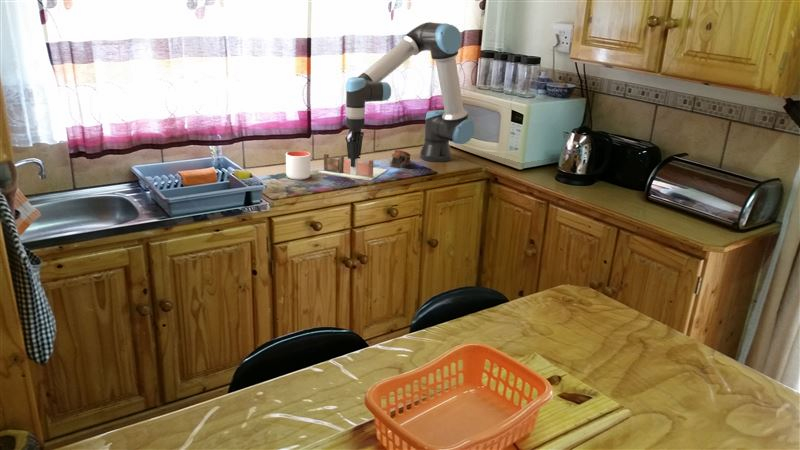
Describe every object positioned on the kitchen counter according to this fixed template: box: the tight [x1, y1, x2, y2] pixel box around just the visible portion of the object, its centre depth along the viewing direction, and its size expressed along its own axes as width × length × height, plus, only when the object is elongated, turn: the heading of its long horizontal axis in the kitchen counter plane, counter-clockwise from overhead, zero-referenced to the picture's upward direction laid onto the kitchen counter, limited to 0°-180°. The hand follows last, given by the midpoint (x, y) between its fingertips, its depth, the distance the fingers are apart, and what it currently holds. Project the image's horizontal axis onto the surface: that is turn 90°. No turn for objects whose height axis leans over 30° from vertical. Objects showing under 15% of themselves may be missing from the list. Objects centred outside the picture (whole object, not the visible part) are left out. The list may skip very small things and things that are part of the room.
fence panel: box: [343, 159, 374, 177], centre depth 270 cm, size 13×2×7 cm, turn 69°
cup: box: [285, 150, 312, 181], centre depth 265 cm, size 10×10×10 cm
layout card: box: [317, 167, 388, 182], centre depth 278 cm, size 24×19×1 cm
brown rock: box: [389, 149, 411, 169], centre depth 290 cm, size 12×10×8 cm
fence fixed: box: [323, 153, 345, 173], centre depth 274 cm, size 9×2×8 cm, turn 69°
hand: (353, 173), depth 265 cm, fingers closed
